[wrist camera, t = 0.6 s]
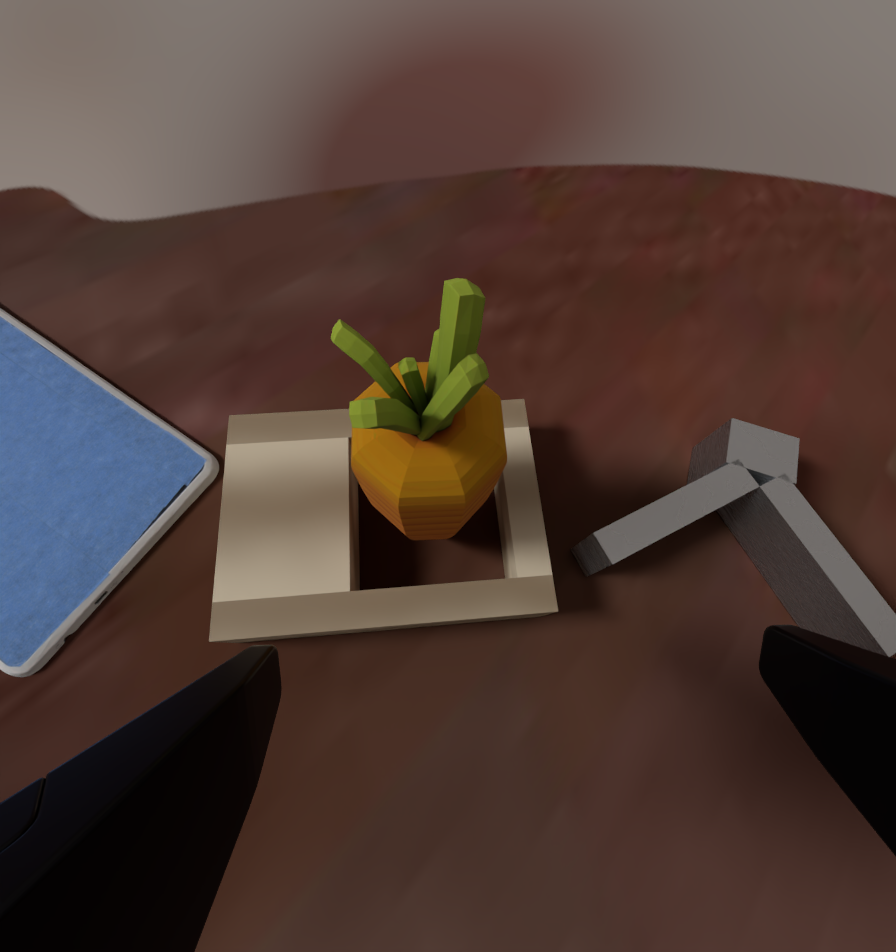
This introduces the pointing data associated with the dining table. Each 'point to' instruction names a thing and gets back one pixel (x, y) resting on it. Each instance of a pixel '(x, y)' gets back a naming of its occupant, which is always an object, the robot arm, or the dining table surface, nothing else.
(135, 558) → the tablet computer
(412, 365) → the carrot
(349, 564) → the socket block
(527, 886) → the dining table surface
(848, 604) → the v-block
